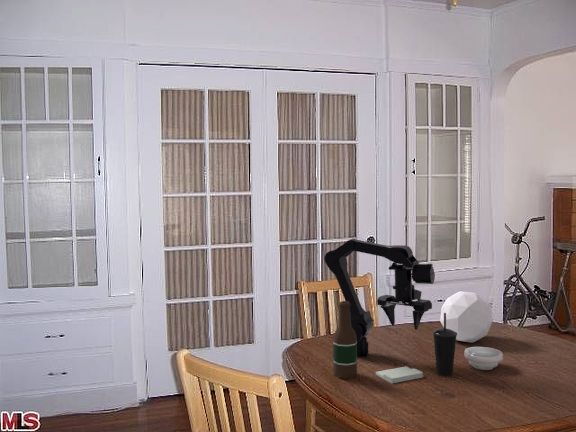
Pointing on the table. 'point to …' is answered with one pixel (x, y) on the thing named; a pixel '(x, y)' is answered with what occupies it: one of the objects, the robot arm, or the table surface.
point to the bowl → (483, 357)
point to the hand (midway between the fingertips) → (404, 327)
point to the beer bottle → (344, 345)
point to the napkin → (400, 374)
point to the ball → (467, 316)
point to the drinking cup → (444, 349)
